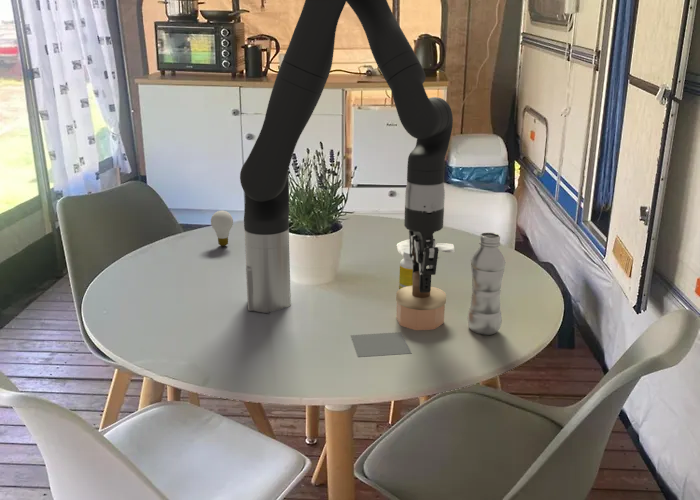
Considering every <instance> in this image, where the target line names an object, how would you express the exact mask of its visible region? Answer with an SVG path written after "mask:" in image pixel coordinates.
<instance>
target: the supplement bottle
mask: <svg viewBox="0 0 700 500" xmlns="http://www.w3.org/2000/svg"><path fill="white" fill-rule="evenodd" d="M409 254H410V249H406V250H404V254H403V255H402V257H403V258H402V259H401V260H400V262H399V278H398V279H399V280H398V281H399V282H398V283H399V284H398V290H399V289H401V288H403V287H407V286H413V280H412V274H413V264H412V262H411V260H412V258H410V255H409Z"/></svg>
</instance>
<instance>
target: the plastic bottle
mask: <svg viewBox="0 0 700 500" xmlns="http://www.w3.org/2000/svg"><path fill="white" fill-rule="evenodd" d="M478 244H479V247H478V248H477V249H476V250H475V251H474V252H473V254H472V256H471V257H470V258H471V259H470V269H471V286H472V288H471V297H470V298H471V300H470V306H469V308H468V309H469V310H468V313H467V317H466V318H467V319H466V320H467V325H468V327H469V329H470V330H471V331H472V332H473V333H475V334H479V335H486V336H487V335H489V336H490V335H493V334H496V333H498V332H499V331H500V330H501V326H502V322H503V319H502V318H503V317H502V311H501V310H502V309H501V289H502V282H503V277H504V274H505V267H506V259H505V257H504V254H503V252H502V251H501V250H500V248H499V247H500V246H501V235H500V234H499V233H495V232H482V233H481V234H480V236H479V241H478Z"/></svg>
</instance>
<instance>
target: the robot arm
mask: <svg viewBox="0 0 700 500" xmlns="http://www.w3.org/2000/svg"><path fill="white" fill-rule="evenodd" d="M303 3H304V4H303V7H302V10H301V13H300V15H299V18H298V20H297V22H296V25H295V27H294V30H293V33H292V36H291V39H290V41H289V44H288V46H287V48H286V51H285V53H284V56H283V58H282V61H281V64H280V67H279V70H278V72H277V74H276V77H275V80H274V83H273V87H272V90H271V93H270V96H269V100H268V104H267V109H266V111H265V117H264V121H263V123H262V126H261V129H260V131H259V134H258V136H257V138H256V140H255V143H254V144H253V147H252V149H251V151H250V153H249V155H248V157H247V158H246V160H245V162H244V163H243V165H242V166H241V168H240V173H239V181H240V186H241V188H242V190H243V192H244V213H243V227H244V230H243V231H244V246H245V250H244V251H245V272H246V273H245V274H246V276H245V277H246V294H247V295H246V296H247V299H246V300H247V311H248V312H250V311H251V312H252V311H254V312H256V313H257V312H258V313H265V314H266V313H271V312H275V311H279V310H280V311H281V310H282V309H283V310H284V309H286V308H290V306H291V304H292V303H291V302H292V301H291V299H292V298H291V296H292V295H291V294H292V293H291V261H290V260H291V259H290V258H291V257H290V254H291V253H290V224H289V223H290V220H289V219H290V183H289V182H290V179H289V169H290V165H291V161H292V159H293V156H294V152H295V149H296V146H297V144H298V142H299V139H300V138H301V135H302V134H303V132H304V130H305V128H306V126H307V124H308V122H309V121H310V120H311V117H312V115H313V113H314V111H315V109H316V107H317V105H318V102H319V100H320V98H321V96H322V94H323V91H324V89H325V87H326V84H327V81H328V79H329V77H330V74H331V69H332V67H333V66H332V65H333V62H334V61H333V59H334V50H335V42H336V41H335V40H336V32H337V28H338V23H339V20H340V18H341V14H342V11H343V10H344V8H345V6H346V3H347V4H348V6H350V8H351V10H352V12H354V14H355V15H356V17H357V19H358V21H359V22H360V24H361V26H362V28H363V30H364V34H365V36H366V39H367V42H368V45H369V48H370V52H371V53H372V56H373V58H374V61H375V62H376V65H377V67H378V69H379V71H380V73H381V74H382V76H383V78H384V80H385V82H386V83H387V86H388V87H389V89H390V90H391V94H392V98H393V102H394V105H395V108H396V112H397V116H398V119H399V121H400V123H401V125H402V127H403V128H404V130H405V131H406V132H407V134H409V135H410V136H411V137H412V138H414V139H416V144H415V147H414V148H413V150H411V152H409V154H408V158H407V166H406V167H407V168H406V170H407V171H406V173H407V174H406V187H405V194H404V222H403V224H404V227H405V229H407V230H408V233H409V237H408V239H409V242H410V254H409V255H410V258H412V260H411V262H412V264H413V273H414V272H416V271H419V273H420V274H419V291H420V292H421V293H427V292H430V291H431V287H432V275H433V276H435V275H436V274H437V265H438V264H437V263H438V259H439V257H438V256H439V252H440V251H439V250H438V247H435V246H436V245H435V243H436V239H435V238H434V234H435V233H436V232H439V231H441V230H442V229H443V228H444V220H445V219H444V216H445V215H444V214H445V199H446V197H445V193H446V191H445V190H446V189H445V171H446V170H445V169H446V168H445V167H446V165H445V164H446V161H445V160H446V156H447V152H448V150H449V149H448V148H449V145H450V141H451V135H452V132H453V131H452V130H453V125H454V124H453V121H454V118H453V111H452V108H451V106H450V104H449V103H448V101H446V100H445V99H444V98H440V97H437V96H436V97H435V96H433V97H428V94H427V91H426V89H425V87H424V83H425V81H426V73H425V71H424V68H423V66H422V64H421V62H420V60H419V58H418V57H417V54H416V52H415V51H414V49H413V48H412V45H411V43H410V42H409V40H408V39H407V36H406V35H405V33H404V32H403V30H402V28H401V27H400V24H399V23H398V21H397V19H396V18H395V16H394V13H393V12H392V10H391V8H390V5H389V2H388V0H304V2H303ZM427 267H428V268H427ZM412 280H413V274H412Z"/></svg>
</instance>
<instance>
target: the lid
mask: <svg viewBox="0 0 700 500" xmlns="http://www.w3.org/2000/svg"><path fill="white" fill-rule="evenodd" d="M419 274H420V273H419V271H416V272H414V273H413V286H407V287H403V288H401V289H399V288H398V290H397V291H396V293H395V294H396V295H395V300H396V303H397V302H398V303H399V304H400V305H402V306H404V307H406V308H410V309H416V310H431V309H437V308H440V307H442V306H443V305H446V303H447V293H446V292H445V291H444V290H442V289H440V288H438V287H435V286H431V291H430V292H427V293H421V292H420V291H419Z"/></svg>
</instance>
